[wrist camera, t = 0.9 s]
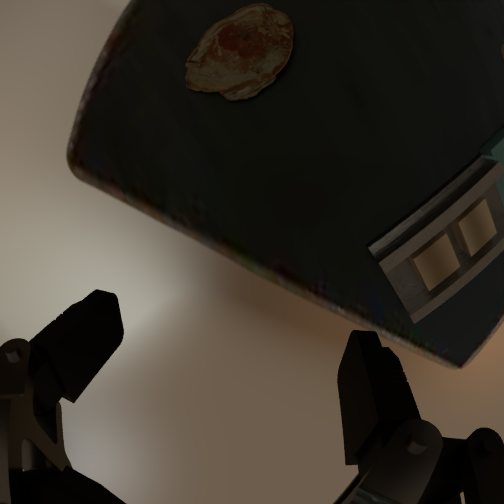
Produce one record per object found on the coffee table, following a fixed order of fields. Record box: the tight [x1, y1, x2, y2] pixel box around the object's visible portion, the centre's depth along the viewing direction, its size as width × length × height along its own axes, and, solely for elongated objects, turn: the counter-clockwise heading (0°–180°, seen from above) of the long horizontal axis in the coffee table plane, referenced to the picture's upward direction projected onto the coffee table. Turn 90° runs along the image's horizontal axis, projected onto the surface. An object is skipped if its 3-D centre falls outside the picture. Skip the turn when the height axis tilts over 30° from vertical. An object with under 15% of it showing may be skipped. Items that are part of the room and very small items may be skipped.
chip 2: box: [449, 197, 497, 257], centre depth 24 cm, size 5×5×3 cm
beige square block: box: [408, 230, 460, 291], centre depth 27 cm, size 5×5×3 cm
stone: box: [185, 3, 294, 101], centre depth 23 cm, size 13×10×3 cm
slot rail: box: [367, 154, 504, 324], centre depth 26 cm, size 20×11×4 cm, turn 131°
